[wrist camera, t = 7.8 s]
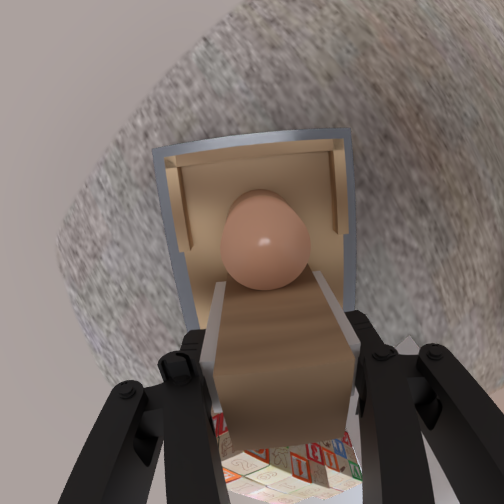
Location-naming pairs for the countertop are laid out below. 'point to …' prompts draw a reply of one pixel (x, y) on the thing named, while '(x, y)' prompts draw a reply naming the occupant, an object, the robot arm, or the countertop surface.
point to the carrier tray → (251, 172)
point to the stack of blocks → (288, 468)
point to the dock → (241, 140)
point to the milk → (441, 487)
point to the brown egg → (264, 241)
